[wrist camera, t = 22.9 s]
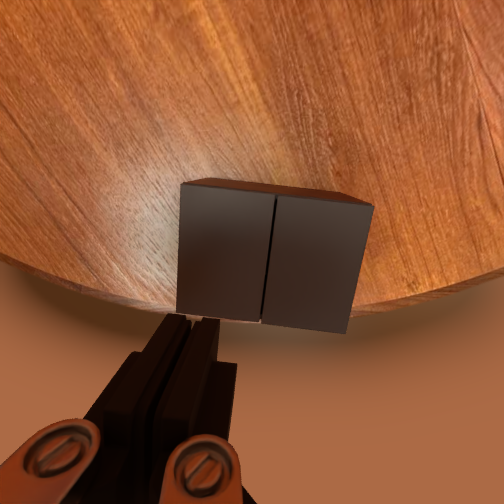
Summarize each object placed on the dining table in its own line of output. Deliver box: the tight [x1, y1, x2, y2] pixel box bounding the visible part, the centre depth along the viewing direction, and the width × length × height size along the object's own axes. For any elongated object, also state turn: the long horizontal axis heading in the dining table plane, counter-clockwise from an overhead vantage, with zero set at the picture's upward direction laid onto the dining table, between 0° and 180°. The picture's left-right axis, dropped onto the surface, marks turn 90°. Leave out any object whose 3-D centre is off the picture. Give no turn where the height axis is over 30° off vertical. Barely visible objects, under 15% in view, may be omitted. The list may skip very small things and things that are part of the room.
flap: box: [176, 184, 275, 322], centre depth 19 cm, size 6×9×1 cm, turn 174°
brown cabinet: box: [183, 178, 374, 334], centre depth 23 cm, size 12×9×9 cm
